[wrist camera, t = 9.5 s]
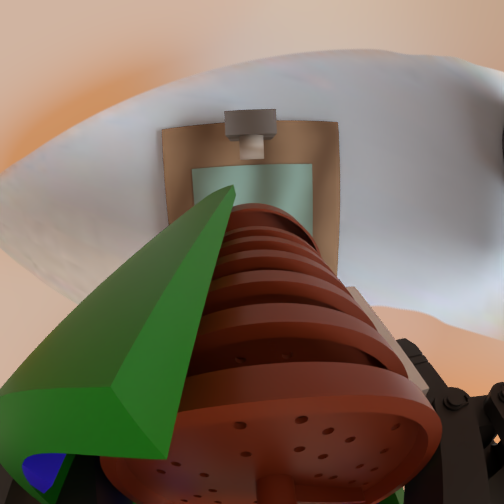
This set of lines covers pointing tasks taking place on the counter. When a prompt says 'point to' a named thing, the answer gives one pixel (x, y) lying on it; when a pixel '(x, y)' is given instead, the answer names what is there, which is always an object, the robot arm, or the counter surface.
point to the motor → (220, 377)
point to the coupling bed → (260, 169)
